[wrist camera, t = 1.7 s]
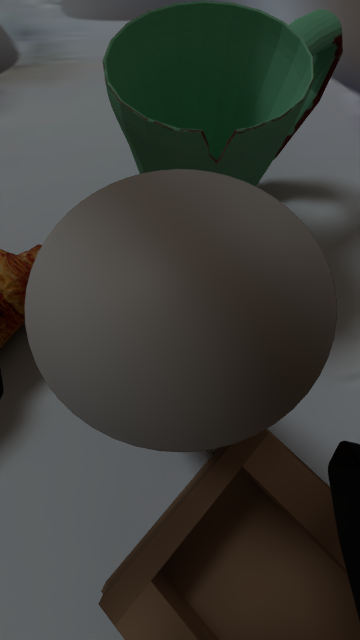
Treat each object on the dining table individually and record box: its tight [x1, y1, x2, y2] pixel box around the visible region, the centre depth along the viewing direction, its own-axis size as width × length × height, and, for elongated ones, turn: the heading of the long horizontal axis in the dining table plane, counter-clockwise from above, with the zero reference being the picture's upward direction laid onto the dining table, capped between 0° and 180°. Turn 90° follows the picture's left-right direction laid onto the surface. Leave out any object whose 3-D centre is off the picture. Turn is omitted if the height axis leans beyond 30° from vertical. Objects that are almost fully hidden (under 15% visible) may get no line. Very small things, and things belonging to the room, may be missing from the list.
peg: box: [25, 169, 337, 452], centre depth 12 cm, size 6×6×13 cm
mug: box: [103, 1, 343, 187], centre depth 19 cm, size 15×10×10 cm
